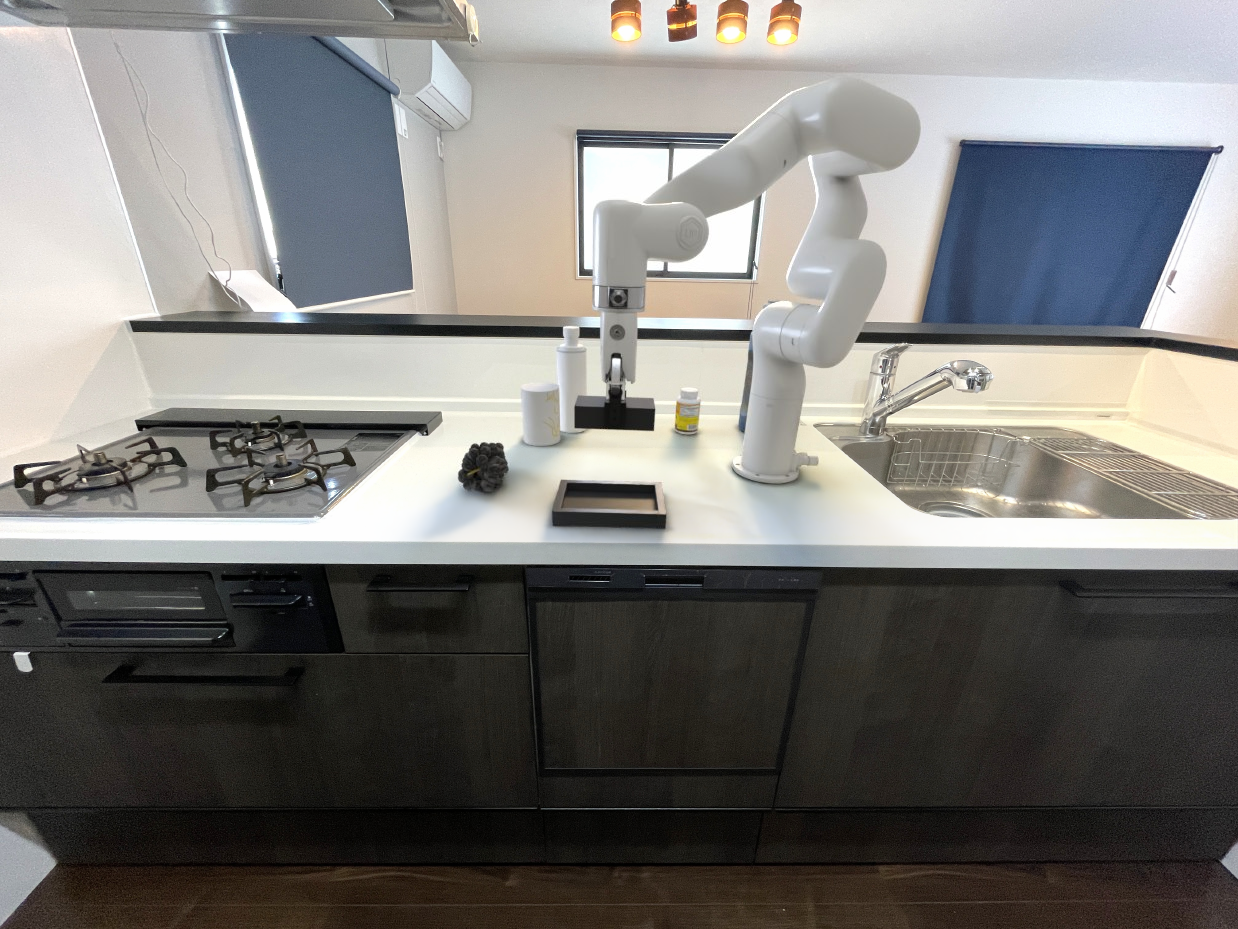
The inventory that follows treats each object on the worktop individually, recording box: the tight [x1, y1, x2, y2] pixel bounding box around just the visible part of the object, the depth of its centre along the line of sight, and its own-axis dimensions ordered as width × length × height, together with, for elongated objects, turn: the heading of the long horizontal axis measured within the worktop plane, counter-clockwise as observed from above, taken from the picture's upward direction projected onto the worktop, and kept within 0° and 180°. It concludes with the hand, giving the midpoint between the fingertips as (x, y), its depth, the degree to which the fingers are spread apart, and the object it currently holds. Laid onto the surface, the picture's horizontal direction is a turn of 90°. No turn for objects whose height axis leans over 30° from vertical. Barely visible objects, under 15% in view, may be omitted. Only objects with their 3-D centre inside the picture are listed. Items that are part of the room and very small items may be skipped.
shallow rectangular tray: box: [551, 479, 667, 530], centre depth 80 cm, size 17×11×2 cm, turn 89°
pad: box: [574, 395, 656, 432], centre depth 76 cm, size 12×6×4 cm, turn 89°
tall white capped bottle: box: [556, 325, 588, 434], centre depth 112 cm, size 7×7×25 cm
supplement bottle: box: [674, 387, 702, 436], centre depth 115 cm, size 6×6×10 cm
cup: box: [520, 381, 561, 447], centre depth 107 cm, size 8×8×12 cm
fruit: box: [457, 441, 510, 493], centre depth 88 cm, size 9×8×15 cm
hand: (615, 419), depth 77 cm, fingers closed on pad, 6 cm apart
